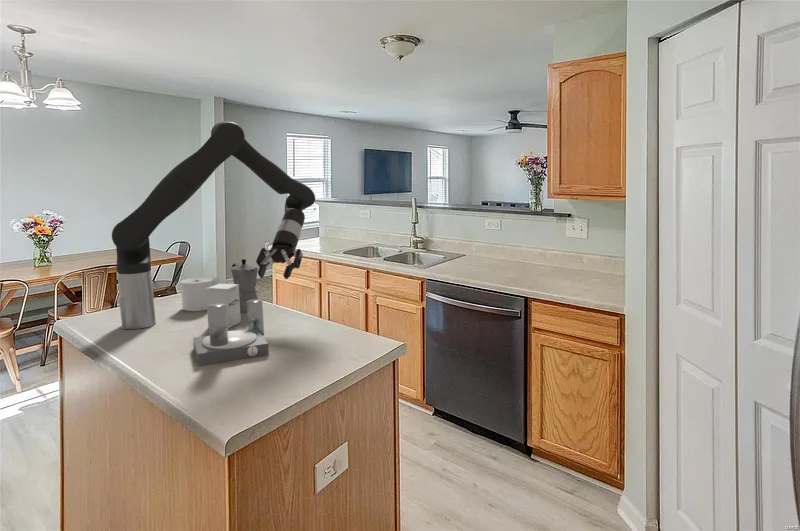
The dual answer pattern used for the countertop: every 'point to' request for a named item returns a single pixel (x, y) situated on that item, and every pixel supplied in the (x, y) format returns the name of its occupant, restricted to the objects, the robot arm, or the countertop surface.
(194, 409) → the countertop surface
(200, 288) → the toilet tissue
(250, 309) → the spacer
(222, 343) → the cylinder
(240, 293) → the coffeepot
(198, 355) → the scale
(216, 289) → the supplement box
